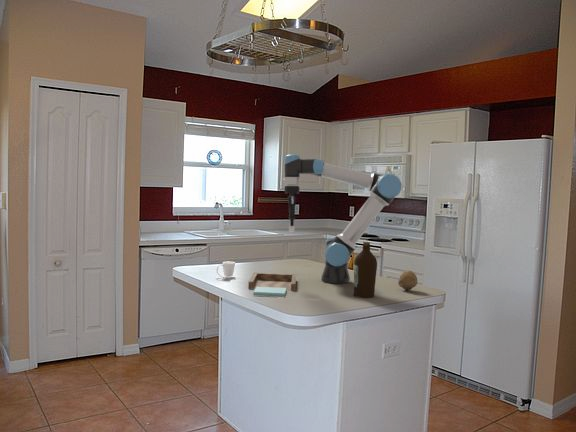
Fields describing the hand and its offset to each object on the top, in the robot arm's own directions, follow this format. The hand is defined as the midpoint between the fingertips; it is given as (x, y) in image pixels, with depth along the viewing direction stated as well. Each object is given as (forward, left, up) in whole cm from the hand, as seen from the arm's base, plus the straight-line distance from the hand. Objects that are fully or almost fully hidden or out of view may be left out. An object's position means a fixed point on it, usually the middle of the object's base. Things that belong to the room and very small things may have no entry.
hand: (291, 232), depth 261 cm
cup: (+34, -8, -26) cm, 44 cm away
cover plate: (+8, +28, -27) cm, 39 cm away
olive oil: (-35, +22, -26) cm, 49 cm away
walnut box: (+8, +9, -26) cm, 29 cm away
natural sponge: (-59, +5, -26) cm, 65 cm away
